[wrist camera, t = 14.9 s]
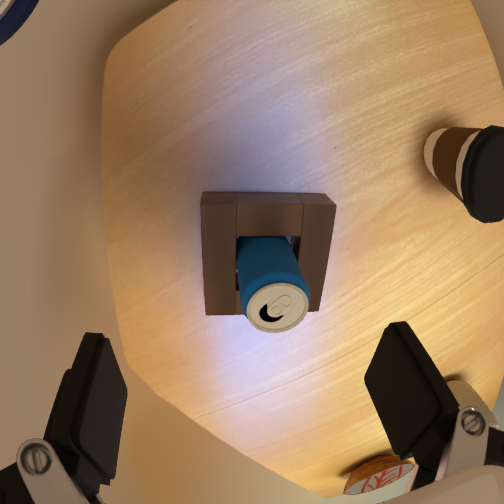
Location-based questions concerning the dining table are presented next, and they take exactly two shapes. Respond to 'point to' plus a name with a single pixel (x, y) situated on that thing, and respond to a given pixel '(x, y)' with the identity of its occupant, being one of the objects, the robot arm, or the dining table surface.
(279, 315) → the beverage can
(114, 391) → the robot arm
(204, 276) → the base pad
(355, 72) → the dining table surface
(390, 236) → the dining table surface
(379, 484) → the bowl
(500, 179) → the coffee cup
